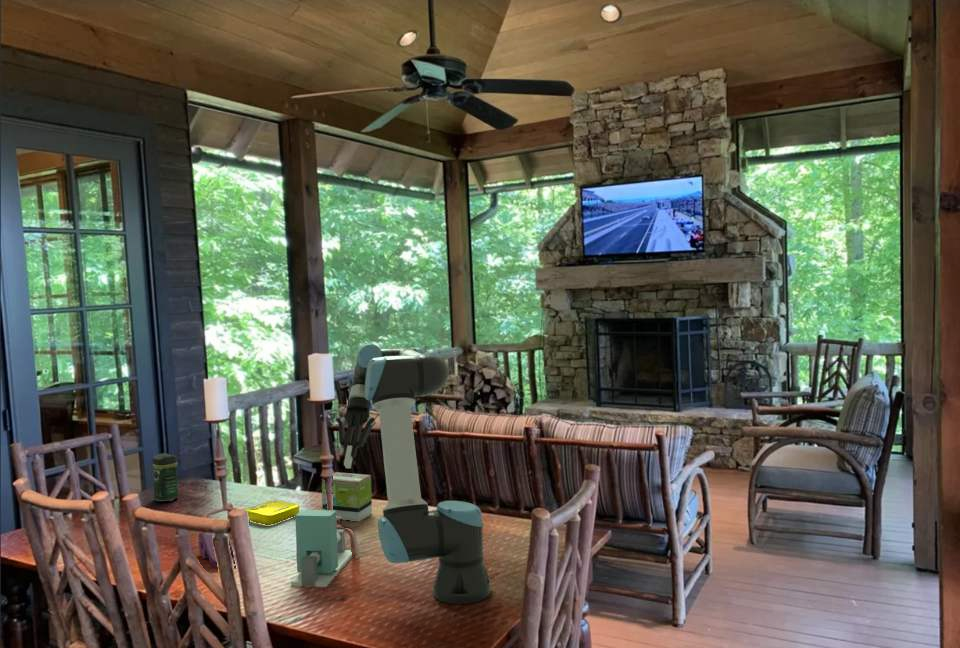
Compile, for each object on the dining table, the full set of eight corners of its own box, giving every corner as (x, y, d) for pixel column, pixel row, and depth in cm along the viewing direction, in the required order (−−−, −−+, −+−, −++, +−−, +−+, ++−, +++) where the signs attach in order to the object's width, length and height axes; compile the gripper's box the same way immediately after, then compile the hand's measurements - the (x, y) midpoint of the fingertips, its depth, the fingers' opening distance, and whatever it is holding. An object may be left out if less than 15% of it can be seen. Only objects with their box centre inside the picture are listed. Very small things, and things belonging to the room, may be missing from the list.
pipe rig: (324, 553, 209) (323, 528, 209) (355, 553, 208) (354, 528, 207) (290, 586, 185) (289, 558, 185) (325, 587, 184) (325, 559, 183)
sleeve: (304, 565, 194) (302, 509, 194) (338, 566, 193) (336, 510, 192) (297, 572, 189) (295, 515, 189) (331, 573, 188) (329, 516, 187)
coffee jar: (181, 499, 272) (180, 453, 271) (161, 504, 266) (160, 457, 265) (170, 495, 278) (168, 450, 277) (151, 500, 272) (149, 454, 271)
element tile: (268, 528, 235) (268, 514, 235) (240, 521, 243) (240, 508, 243) (301, 516, 248) (301, 503, 248) (274, 510, 256) (273, 497, 256)
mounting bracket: (244, 580, 205) (229, 540, 218) (247, 559, 201) (231, 519, 215) (211, 588, 199) (197, 546, 212) (214, 566, 196) (199, 525, 209)
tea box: (321, 519, 242) (320, 478, 242) (336, 511, 252) (335, 471, 251) (359, 522, 237) (358, 480, 237) (372, 514, 247) (371, 473, 246)
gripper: (381, 407, 228) (370, 471, 214) (344, 407, 230) (330, 471, 216) (376, 395, 222) (364, 460, 208) (337, 395, 224) (323, 460, 210)
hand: (347, 466), depth 212 cm, fingers closed
